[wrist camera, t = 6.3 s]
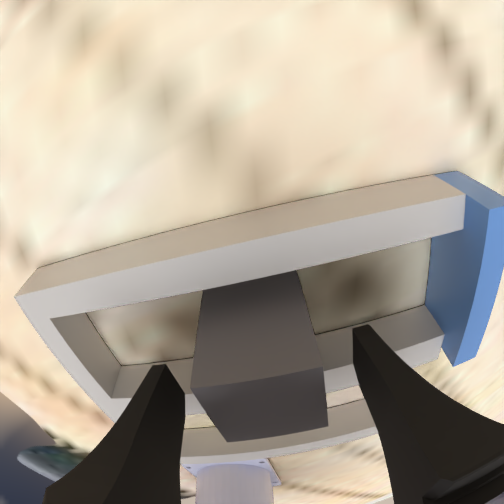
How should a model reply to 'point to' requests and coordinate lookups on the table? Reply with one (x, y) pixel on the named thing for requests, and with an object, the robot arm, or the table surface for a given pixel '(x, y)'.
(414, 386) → the robot arm
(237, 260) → the grey blue slatted frame
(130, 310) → the table surface
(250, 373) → the dark gray block
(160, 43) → the table surface
